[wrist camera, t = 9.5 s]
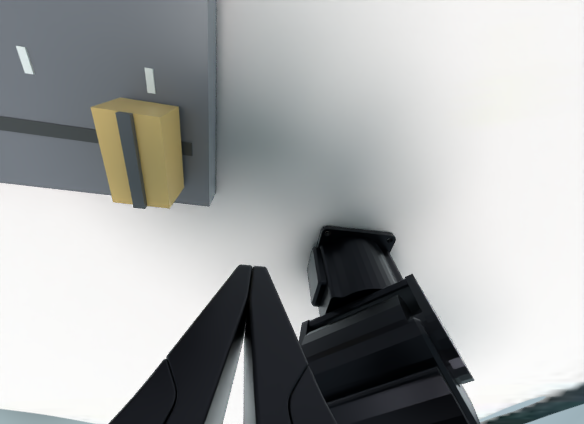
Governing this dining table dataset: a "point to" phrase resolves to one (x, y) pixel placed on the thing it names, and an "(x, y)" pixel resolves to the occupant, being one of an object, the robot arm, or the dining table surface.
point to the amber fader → (140, 151)
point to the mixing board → (103, 85)
